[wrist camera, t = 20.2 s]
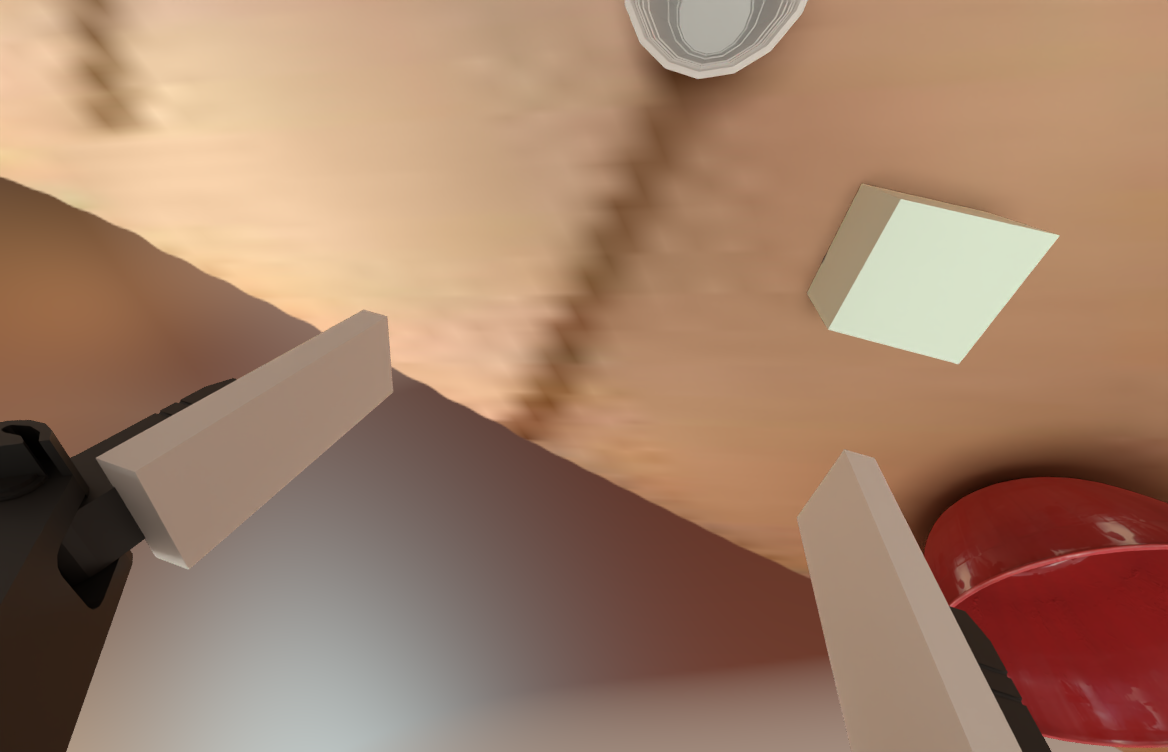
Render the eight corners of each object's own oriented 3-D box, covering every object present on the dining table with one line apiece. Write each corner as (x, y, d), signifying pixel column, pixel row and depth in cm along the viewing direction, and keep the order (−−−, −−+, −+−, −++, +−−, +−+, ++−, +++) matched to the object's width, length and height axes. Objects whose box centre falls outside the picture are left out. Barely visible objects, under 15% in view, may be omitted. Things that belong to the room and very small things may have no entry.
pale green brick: (861, 183, 37) (901, 198, 29) (986, 211, 36) (1059, 235, 28) (806, 293, 42) (828, 329, 35) (913, 320, 41) (958, 364, 34)
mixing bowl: (975, 387, 43) (1090, 502, 30) (1287, 478, 40) (1560, 646, 27) (830, 553, 58) (865, 676, 45) (1049, 626, 56) (1153, 779, 43)
